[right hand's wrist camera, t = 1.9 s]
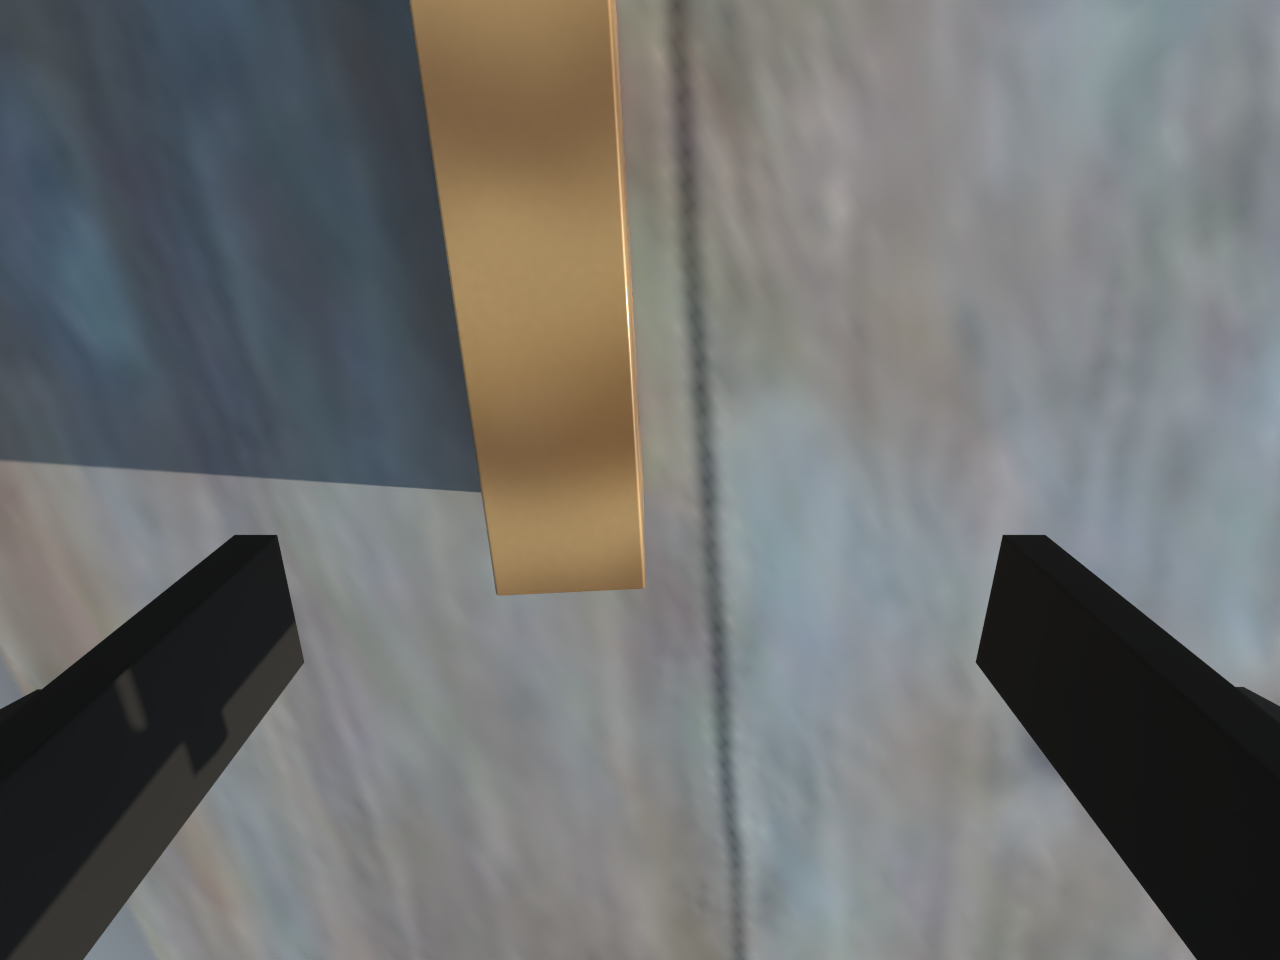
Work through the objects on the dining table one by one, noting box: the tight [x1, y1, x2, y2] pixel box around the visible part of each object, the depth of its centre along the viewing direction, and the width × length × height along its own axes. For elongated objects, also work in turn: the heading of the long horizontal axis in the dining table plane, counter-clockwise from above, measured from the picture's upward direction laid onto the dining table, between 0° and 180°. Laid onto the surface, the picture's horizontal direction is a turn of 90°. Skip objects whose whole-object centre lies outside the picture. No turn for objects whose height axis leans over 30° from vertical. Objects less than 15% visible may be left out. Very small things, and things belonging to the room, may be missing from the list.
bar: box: [409, 0, 645, 595], centre depth 20 cm, size 26×5×8 cm, turn 3°
